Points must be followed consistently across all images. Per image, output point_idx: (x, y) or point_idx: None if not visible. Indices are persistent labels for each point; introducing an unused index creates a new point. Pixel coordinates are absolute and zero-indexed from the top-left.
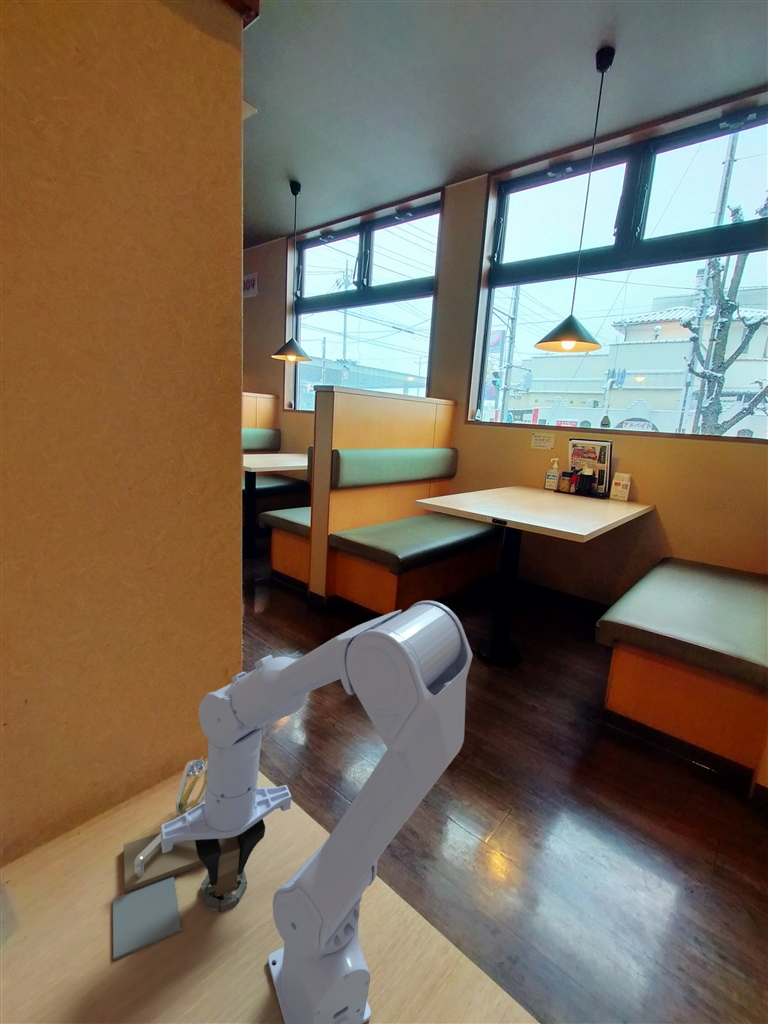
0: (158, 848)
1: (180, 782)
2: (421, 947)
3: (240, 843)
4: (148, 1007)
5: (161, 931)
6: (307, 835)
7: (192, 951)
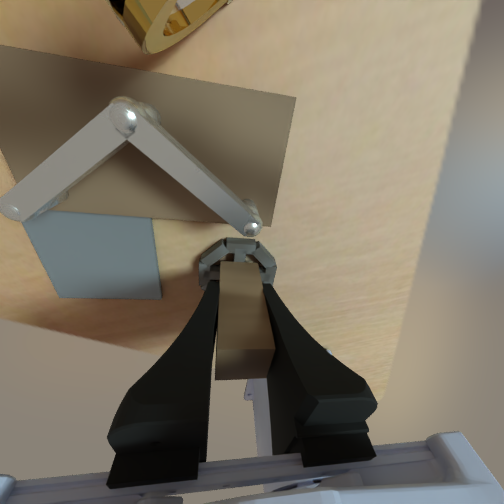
0: (78, 181)
1: None
2: (375, 376)
3: (271, 375)
4: (124, 343)
5: (131, 292)
6: (404, 248)
7: (176, 319)
